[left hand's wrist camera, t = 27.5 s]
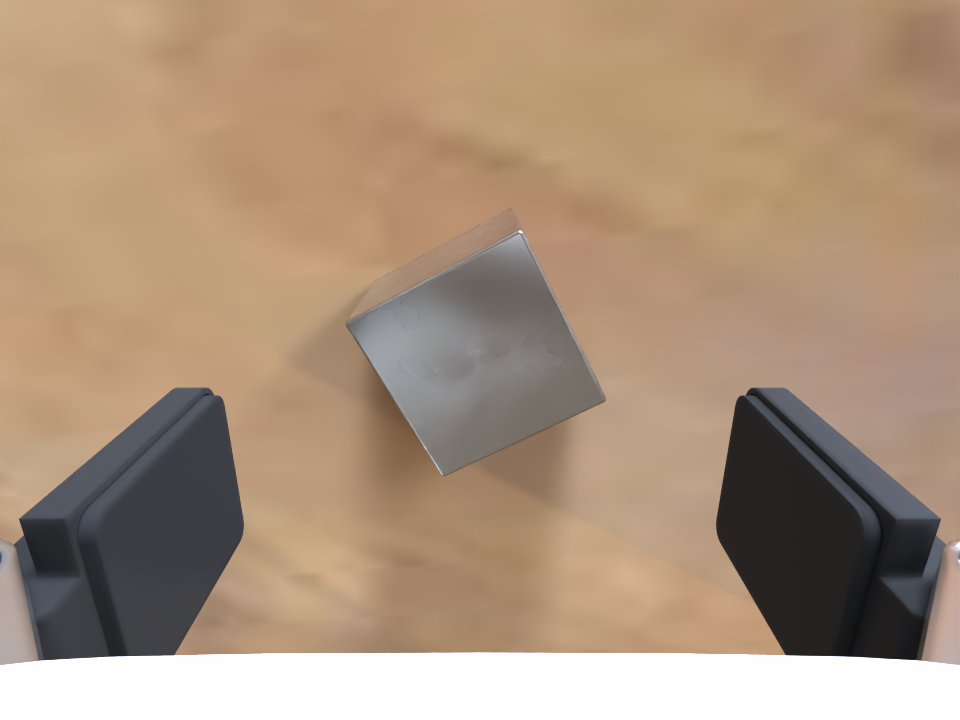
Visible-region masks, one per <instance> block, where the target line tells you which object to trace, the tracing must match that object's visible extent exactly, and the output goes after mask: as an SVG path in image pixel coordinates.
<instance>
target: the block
mask: <svg viewBox="0 0 960 720" xmlns="http://www.w3.org/2000/svg"><path fill="white" fill-rule="evenodd" d="M345 324H346V326H347V328H348V330H349V331H350V333H351V334H352V336H353V337H354V339H355V340H356V342H357V344H358V345H359V347H360V348H361V350H362V351H363V353H364V355H365V356H366V358H367V359H368V361H369V362H370V364H371V366H372V367H373V369H374V370H375V372H376V373H377V375H378V377H379V378H380V380H381V381H382V383H383V384H384V386H385V388H386V389H387V391H388V392H389V394H390V395H391V397H392V399H393V400H394V402H395V403H396V405H397V406H398V408H399V410H400V411H401V413H402V414H403V416H404V417H405V419H406V421H407V422H408V424H409V425H410V427H411V428H412V430H413V432H414V433H415V435H416V436H417V438H418V439H419V441H420V443H421V444H422V446H423V447H424V449H425V450H426V452H427V454H428V455H429V457H430V458H431V460H432V461H433V463H434V464H435V466H436V468H437V469H438V471H439V472H440V474H441V475H442V476H446V475H448V474H450V473H452V472H455V471H457V470H459V469H461V468H463V467H465V466H468V465H470V464H472V463H474V462H476V461H478V460H480V459H483V458H485V457H487V456H489V455H491V454H493V453H496V452H498V451H500V450H502V449H504V448H506V447H508V446H511V445H513V444H515V443H517V442H519V441H521V440H523V439H526V438H528V437H530V436H532V435H534V434H536V433H539V432H541V431H543V430H545V429H547V428H549V427H551V426H554V425H556V424H558V423H560V422H562V421H564V420H567V419H569V418H571V417H573V416H575V415H577V414H579V413H582V412H584V411H586V410H588V409H590V408H592V407H594V406H597V405H599V404H601V403H603V402H605V401H606V397H605V395H604V393H603V391H602V389H601V387H600V384H599V382H598V380H597V378H596V376H595V374H594V372H593V370H592V368H591V365H590V363H589V361H588V359H587V357H586V355H585V353H584V351H583V349H582V346H581V344H580V342H579V340H578V338H577V336H576V334H575V332H574V330H573V328H572V326H571V324H570V322H569V320H568V318H567V316H566V314H565V312H564V310H563V308H562V306H561V304H560V302H559V300H558V298H557V296H556V294H555V292H554V290H553V288H552V286H551V284H550V282H549V280H548V278H547V276H546V274H545V272H544V270H543V268H542V266H541V264H540V262H539V260H538V258H537V256H536V254H535V252H534V250H533V248H532V246H531V244H530V242H529V240H528V238H527V236H526V234H525V232H524V230H523V228H522V226H521V224H520V222H519V220H518V218H517V216H516V214H515V212H514V210H513V209H512V208H509V209H507V210H506V211H504V212H502V213H500V214H498V215H496V216H494V217H492V218H491V219H489V220H487V221H485V222H483V223H481V224H479V225H478V226H476V227H474V228H472V229H470V230H468V231H466V232H465V233H463V234H461V235H459V236H457V237H455V238H453V239H452V240H450V241H448V242H446V243H444V244H442V245H440V246H439V247H437V248H435V249H433V250H431V251H429V252H427V253H426V254H424V255H422V256H420V257H418V258H416V259H414V260H413V261H411V262H409V263H407V264H405V265H403V266H401V267H399V268H398V269H396V270H394V271H392V272H390V273H388V274H386V275H385V276H383V277H381V278H379V279H377V280H375V281H374V282H373V284H372V285H371V287H370V288H369V290H368V291H367V292H366V294H365V295H364V297H363V298H362V300H361V301H360V302H359V304H358V305H357V307H356V308H355V310H354V311H353V312H352V314H351V315H350V317H349V318H348V320H347V321H346V322H345Z"/></svg>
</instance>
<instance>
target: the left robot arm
mask: <svg viewBox="0 0 960 720" xmlns="http://www.w3.org/2000/svg"><path fill="white" fill-rule="evenodd" d="M19 521H20V524H21V527H22V530H23V533H24V536H23V537H22V538H21V539H20V540H18V541H17V542H16V543H15V544H14V545H13V544H12V543H11V542H8V541H6V540H3V539H0V720H960V539H957V540H954V541H952V542H949V543H948V544H947V545H946V544H945V543H944V542H943V541H942V540H940V539H939V538H938V537H937V536H936V533H937V530H938V527H939V524H940V521H941V519H940V518H939V517H938V516H937V515H936V514H934V513H933V512H932V511H931V510H930V509H928V508H927V507H926V506H925V505H924V504H923V503H921V502H920V501H919V500H918V499H917V498H915V497H914V496H913V495H912V494H911V493H909V492H908V491H907V490H906V489H905V488H904V487H902V486H901V485H900V484H899V483H898V482H896V481H895V480H894V479H893V478H892V477H891V476H889V475H888V474H887V473H886V472H885V471H883V470H882V469H881V468H880V467H879V466H878V465H876V464H875V463H874V462H873V461H872V460H870V459H869V458H868V457H867V456H866V455H864V454H863V453H862V452H861V451H860V450H859V449H857V448H856V447H855V446H854V445H853V444H851V443H850V442H849V441H848V440H847V439H846V438H844V437H843V436H842V435H841V434H840V433H838V432H837V431H836V430H835V429H834V428H832V427H831V426H830V425H829V424H828V423H827V422H825V421H824V420H823V419H822V418H821V417H819V416H818V415H817V414H816V413H815V412H814V411H812V410H811V409H810V408H809V407H808V406H806V405H805V404H804V403H803V402H802V401H801V400H799V399H798V398H797V397H796V396H795V395H793V394H792V393H791V392H790V391H789V390H787V389H785V388H751V389H750V390H749V391H748V392H747V394H746V396H740V397H739V398H738V399H737V402H736V405H735V411H734V417H733V423H732V430H731V436H730V442H729V448H728V454H727V460H726V466H725V472H724V478H723V484H722V490H721V496H720V502H719V508H718V514H717V521H716V529H717V535H718V538H719V541H720V543H721V545H722V546H723V548H724V550H725V551H726V553H727V555H728V557H729V558H730V560H731V562H732V564H733V565H734V567H735V569H736V570H737V572H738V574H739V576H740V577H741V579H742V581H743V582H744V584H745V586H746V588H747V589H748V591H749V593H750V594H751V596H752V598H753V600H754V601H755V603H756V605H757V606H758V608H759V610H760V612H761V613H762V615H763V617H764V618H765V620H766V622H767V624H768V625H769V627H770V629H771V630H772V632H773V634H774V636H775V637H776V639H777V641H778V642H779V644H780V646H781V648H782V649H783V651H784V653H785V655H786V656H772V655H718V654H588V653H371V654H242V655H188V656H174V655H175V653H176V651H177V649H178V648H179V646H180V644H181V642H182V641H183V639H184V637H185V636H186V634H187V632H188V630H189V629H190V627H191V625H192V624H193V622H194V620H195V618H196V617H197V615H198V613H199V612H200V610H201V608H202V606H203V605H204V603H205V601H206V600H207V598H208V596H209V594H210V593H211V591H212V589H213V588H214V586H215V584H216V582H217V581H218V579H219V577H220V576H221V574H222V572H223V570H224V569H225V567H226V565H227V563H228V562H229V560H230V558H231V557H232V555H233V553H234V551H235V550H236V548H237V546H238V545H239V543H240V541H241V538H242V535H243V529H244V521H243V514H242V508H241V502H240V496H239V490H238V484H237V478H236V472H235V466H234V460H233V454H232V448H231V442H230V436H229V430H228V423H227V417H226V411H225V405H224V402H223V399H222V398H221V397H220V396H214V394H213V392H212V391H211V390H210V389H209V388H175V389H173V390H171V391H170V392H169V393H168V394H167V395H165V396H164V397H163V398H162V399H161V400H159V401H158V402H157V403H156V404H155V405H154V406H152V407H151V408H150V409H149V410H148V411H146V412H145V413H144V414H143V415H142V416H141V417H139V418H138V419H137V420H136V421H135V422H133V423H132V424H131V425H130V426H129V427H128V428H126V429H125V430H124V431H123V432H122V433H120V434H119V435H118V436H117V437H116V438H114V439H113V440H112V441H111V442H110V443H109V444H107V445H106V446H105V447H104V448H103V449H101V450H100V451H99V452H98V453H97V454H96V455H94V456H93V457H92V458H91V459H90V460H88V461H87V462H86V463H85V464H84V465H82V466H81V467H80V468H79V469H78V470H77V471H75V472H74V473H73V474H72V475H71V476H69V477H68V478H67V479H66V480H65V481H64V482H62V483H61V484H60V485H59V486H58V487H56V488H55V489H54V490H53V491H52V492H51V493H49V494H48V495H47V496H46V497H45V498H43V499H42V500H41V501H40V502H39V503H37V504H36V505H35V506H34V507H33V508H32V509H30V510H29V511H28V512H27V513H26V514H24V515H23V516H22V517H21V518H20V519H19Z"/></svg>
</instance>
